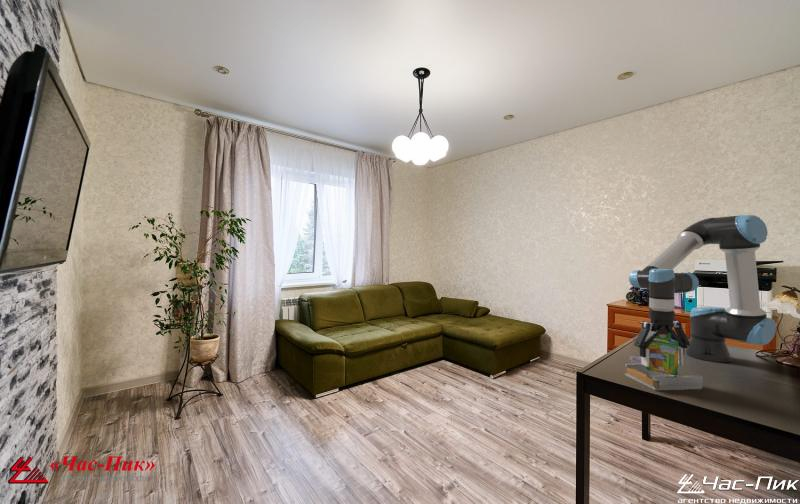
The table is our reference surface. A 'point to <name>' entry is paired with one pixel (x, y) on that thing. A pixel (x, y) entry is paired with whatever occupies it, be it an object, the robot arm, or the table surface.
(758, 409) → the table surface
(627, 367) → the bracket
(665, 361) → the chalk box
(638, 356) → the rock
